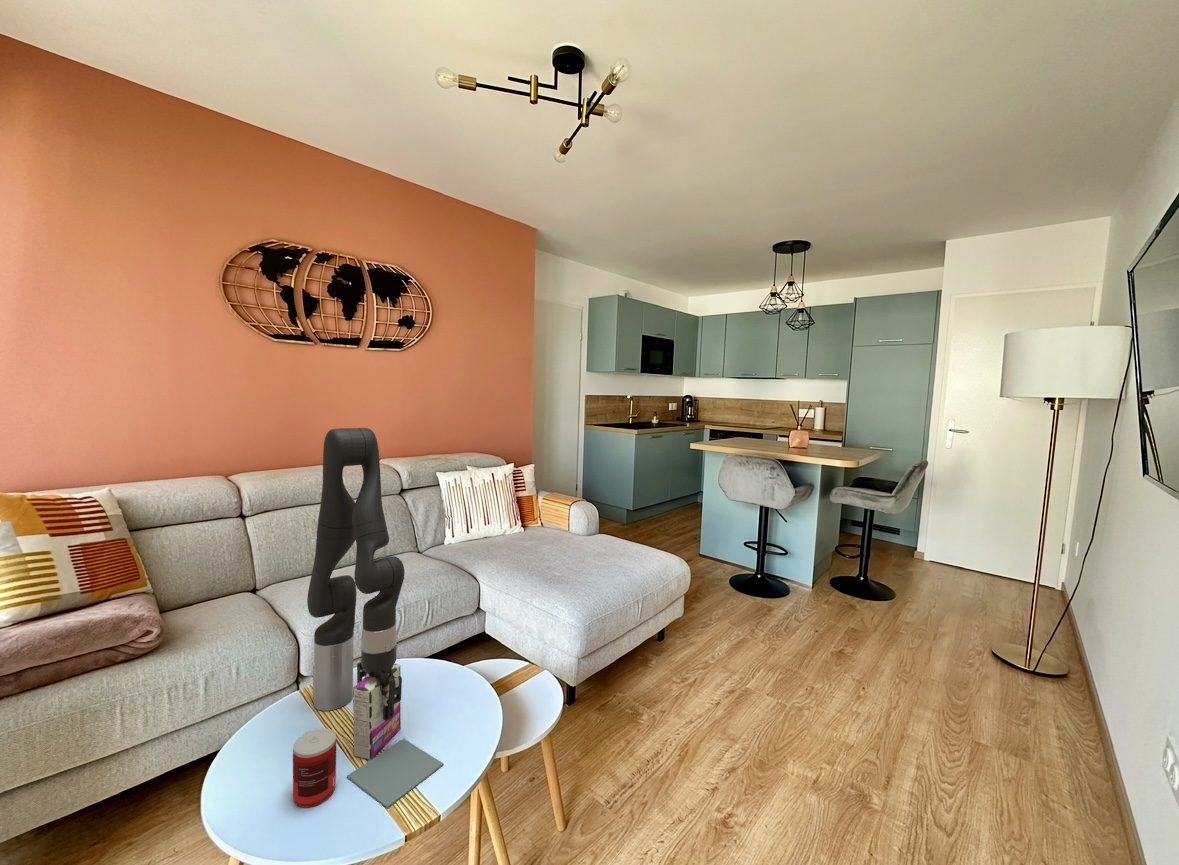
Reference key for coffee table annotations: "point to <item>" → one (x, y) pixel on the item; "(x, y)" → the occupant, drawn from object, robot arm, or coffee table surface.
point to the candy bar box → (372, 718)
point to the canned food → (314, 767)
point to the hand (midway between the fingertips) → (378, 712)
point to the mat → (394, 772)
